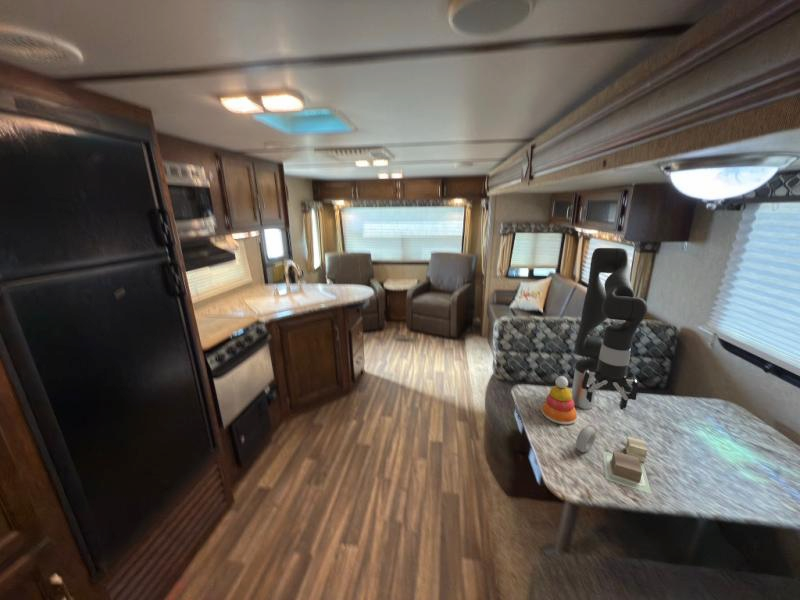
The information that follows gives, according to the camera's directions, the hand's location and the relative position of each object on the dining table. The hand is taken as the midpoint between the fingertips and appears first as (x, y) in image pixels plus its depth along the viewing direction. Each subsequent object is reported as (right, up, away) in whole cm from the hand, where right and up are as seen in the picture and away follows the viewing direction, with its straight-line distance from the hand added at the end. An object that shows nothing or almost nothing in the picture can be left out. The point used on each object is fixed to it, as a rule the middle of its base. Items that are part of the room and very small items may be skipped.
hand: (604, 404), depth 97 cm
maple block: (+19, -24, +13) cm, 33 cm away
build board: (+11, -26, +6) cm, 29 cm away
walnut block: (+11, -25, +6) cm, 28 cm away
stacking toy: (+4, -18, +35) cm, 40 cm away
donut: (+3, -23, +16) cm, 28 cm away
